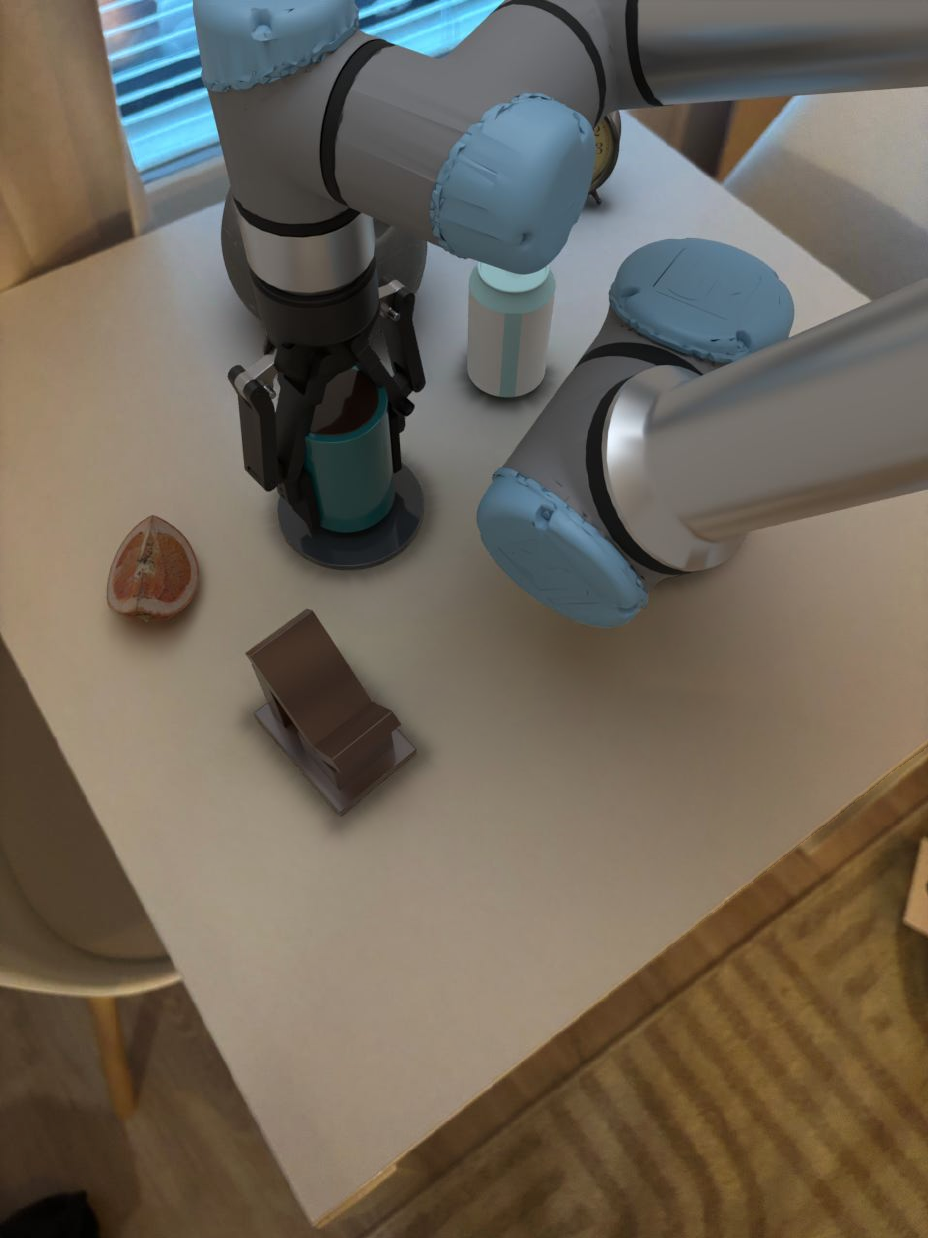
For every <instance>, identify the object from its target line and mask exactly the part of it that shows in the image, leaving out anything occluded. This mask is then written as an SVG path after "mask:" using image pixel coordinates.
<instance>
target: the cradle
mask: <svg viewBox="0 0 928 1238" xmlns="http://www.w3.org/2000/svg"><path fill="white" fill-rule="evenodd" d="M244 655H245V656H246V657H247V659H248V660H249V662H250V663H251V667H252V669H253V671H254V674H255V676H256V678H257V681H258V683H259V686H260V688H261V691H262V693H263V695H264V697H265V700H266V703H265V704H264V705H262V706H261V707H260V708H258V709H257V710H256V711H254V712H253V716H254V718H255V719H256V720H257V721H258V722H259V725H261V726H262V728H264V729H265V731H266V732H267V733H268V734H269V735H270V736H271V738H272V739H273V740H274V741H275V742H276V744H277V745H278V746H279V747H280V748H281V749H282V750H283V751H284V753H285V754H286V755H287V756H288V757H289V759H290V760H291V761H292V762H293V763H294V765H295V766H296V767H297V768H298V769H299V771H301V772H302V773H303V775H304V776H305V777H306V778H307V779H308V780H309V782H310V783H311V784H312V786H313V787H314V788H315V789H316V790H317V792H319V793H320V794H321V796H322V797H323V798H324V799H325V801H327V803H328V804H329V805H330V806H331V808H333V810H334V811H335V812H336V813H337V814H338V815H339V816H340V817H342V816H343V815H344V814H345V813H347V812H348V811H349V810H350V809H351V808H352V807H354V806H355V805H356V804H357V803H358V802H360V801H361V800H363V798H365V797H366V796H367V795H368V794H369V793H371V792H372V791H373V790H374V789H375V788H377V787H378V786H379V785H380V784H381V783H383V782H385V780H386V779H387V778H389V777H390V776H391V775H392V774H393V773H395V772H396V771H397V770H398V769H399V768H401V767H402V766H403V765H404V764H405V763H407V762H408V761H409V760H410V759H411V758H413V757H414V756H415V755H416V754H417V748H416V747H415V746H414V744H412V743H411V742H410V740H408V739H407V737H406V736H405V735H404V734H403V733H402V732H401V731H400V730H399V729H398V728H399V727H400V726H401V725H402V723H401V722H400V721H399V719H398V717H397V715H396V714H395V712H394V711H393V710H392V709H389V708H387V707H385V706H383V705H381V704H379V703H377V702H375V701H373V700H372V699H371V697H370V696H369V694H368V692H367V691H366V689H365V687H363V685H362V683H361V682H360V680H359V678H358V677H357V675H356V674H355V672H354V671H353V669H352V668H351V666H350V665H349V663H348V662H347V660H346V659H345V657H344V655H343V654H342V653H341V651H340V650H339V648H338V646H337V645H336V643H335V642H334V641H333V639H332V637H331V636H330V634H329V632H328V631H327V629H326V628H325V627H324V625H323V623H322V622H321V620H320V619H319V617H318V616H317V614H316V613H315V611H314V610H313V609H310V608H305V609H303V611H301V612H300V613H298V614H297V615H295V616H294V617H293V618H291V619H290V620H288V621H287V622H286V623H284V624H283V625H282V626H280V627H279V628H278V629H276V630H275V631H273V632H271V634H269V635H268V636H266V637H265V638H263V639H262V640H261V641H259V643H256V644H255V645H254V646H253V647H251V648H250V649H249V650H247V651H246V652H245V653H244Z"/></svg>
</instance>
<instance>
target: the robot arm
mask: <svg viewBox="0 0 928 1238" xmlns="http://www.w3.org/2000/svg"><path fill="white" fill-rule="evenodd" d="M192 12H193V19H194V26H195V32H196V39H197V45H198V52H199V59H200V64H201V74H200V77H201V81H202V84H203V86H204V88H206V92H207V96H208V99H209V102H210V106H211V110H212V114H213V118H214V119H213V120H214V122H215V127H216V131H217V135H218V139H219V144H220V147H221V151H222V156H223V160H224V164H225V168H226V172H227V176H228V181H229V185H230V186H231V190H232V195H233V199H234V203H235V209H236V213H237V217H238V222H239V226H240V230H241V235H242V239H243V243H244V248H245V252H246V257H247V260H248V262H249V265H250V268H249V269H250V276H251V280H252V284H253V289H254V293H255V297H256V302H257V306H258V310H259V314H260V317H261V320H262V322H261V323H262V326H263V327H264V330H265V340H264V343H263V348H262V354H263V356H262V357H260V359H258V360H257V361H255V363H253V364H252V365H251V366H250V367H248V368H247V369H245V368H244V367H243V366H242V365H241V364H236V365H233V366H232V367H231V368H230V369H229V371H228V372H227V377H226V378H227V380H228V381H229V383H230V386H232V388H233V389H234V391H235V394H237V403H238V415H239V425H240V436H241V437H240V438H241V447H242V448H241V449H242V458H243V459H242V460H243V468H244V471H245V472H246V473H247V474H248V475H249V476H250V477H251V478H252V479H253V480H254V481H255V482H256V483H257V484H258V485H259V486H260V487H261V488H262V489H263V490H264V491H265V492H267V493H271V492H272V491H274V490H275V489H276V492H277V494H278V495H279V497H280V496H281V497H282V498H283V499H284V500H285V501H286V502H287V503H288V504H289V505H291V506H292V509H293V510H294V511H295V512H296V513H297V514H298V515H299V516H300V517H301V518H302V520H303V521H304V522H305V523H306V524H307V525H308V526H309V527H310V528H311V529H312V530H313V531H314V530H315V529H316V528H318V527H319V526H321V523H320V518H319V513H318V508H317V503H316V499H315V494H314V489H313V484H312V479H311V474H310V473H309V472H308V471H307V470H306V469H305V468H304V467H303V466H302V464H303V460H304V455H305V451H306V442H305V437H306V436H308V435H309V434H310V429H311V425H312V421H313V416H314V412H315V407H316V405H319V404H321V403H322V401H323V397H324V393H325V389H326V384H327V383H329V382H330V381H331V380H332V379H333V378H334V377H335V376H337V375H338V374H340V373H342V372H345V371H348V370H349V369H351V368H352V367H354V366H356V367H357V368H358V370H359V371H361V372H362V373H363V374H364V375H365V376H366V377H368V378H369V379H370V380H371V381H372V382H373V383H374V384H375V385H376V386H378V387H379V388H381V387H383V386H384V387H385V389H386V392H387V398H388V410H389V422H390V434H391V446H392V458H393V470H394V473H397V472H398V471H400V470H401V469H402V463H403V462H402V452H401V451H402V449H401V447H402V446H401V435H400V434H402V433H404V431H405V428H406V417H409V416H410V415H411V414H412V413H413V412H414V410H415V407H416V404H415V403H414V402H413V401H412V400H411V399H409V398H408V397H409V396H410V395H411V394H412V393H415V394H417V393H420V392H421V391H423V390H424V388H425V387H426V385H427V380H426V376H425V371H424V366H423V363H422V357H421V353H420V349H419V343H418V339H417V335H416V330H415V325H414V321H413V317H414V309H415V302H416V294H415V295H414V293H413V292H411V291H410V290H409V289H408V288H406V287H405V286H404V285H403V284H401V283H400V282H399V281H398V280H397V279H395V278H394V277H393V276H392V275H390V274H386V275H384V276H383V277H382V278H381V279H380V281H379V285H378V278H377V266H376V257H375V253H374V250H375V234H374V224H373V218H375V219H377V220H380V221H382V222H384V223H386V224H389V225H391V226H393V227H395V228H398V229H400V230H402V231H405V232H407V233H409V234H411V235H414V236H416V237H418V238H420V239H423V240H425V241H427V243H429V244H432V245H434V246H437V247H439V248H441V249H443V251H445V252H447V253H449V254H450V255H453V256H454V257H457V258H458V259H462V260H467V259H471V260H474V261H476V262H478V261H479V262H482V263H485V264H488V265H491V266H494V267H497V268H500V269H503V270H506V271H509V272H512V273H515V274H521V275H526V274H532V273H535V272H538V271H540V270H541V269H543V268H544V267H546V266H547V265H548V264H549V265H550V264H551V263H552V262H553V261H554V260H555V259H556V258H557V257H558V256H559V254H560V253H561V252H562V250H563V249H564V247H565V246H566V244H567V242H568V240H569V236H570V234H571V231H572V229H573V228H574V225H576V224H577V223H578V221H579V219H580V217H581V214H582V212H583V209H584V207H585V204H586V202H587V198H588V195H589V194H588V192H589V189H590V185H591V181H592V176H593V170H594V165H595V156H596V144H595V136H594V132H593V130H594V128H595V127H596V126H597V125H598V124H599V123H600V122H601V121H602V119H603V118H604V117H605V116H606V115H607V114H609V113H611V112H614V111H618V110H619V111H628V110H640V109H651V108H660V107H670V106H675V105H685V104H700V103H702V104H703V103H715V102H729V101H739V100H740V101H743V100H757V99H758V100H759V99H772V98H784V97H798V96H799V97H801V96H812V95H813V96H814V95H828V94H840V93H855V92H869V91H883V90H884V91H885V90H898V89H910V88H911V89H912V88H926V87H927V88H928V0H503V1H502V2H501V3H500V4H499V5H498V6H497V7H496V8H495V9H494V10H493V11H491V12H490V14H488V16H486V17H485V19H483V20H482V22H481V23H479V24H478V25H477V26H476V27H475V28H474V29H473V30H472V31H471V32H470V33H469V34H468V35H467V36H466V37H465V38H464V39H463V40H461V42H459V43H458V44H457V45H456V46H455V47H454V48H453V49H452V50H451V51H450V52H449V53H448V54H447V55H446V56H445V57H443V58H435V57H433V56H430V55H428V54H425V53H421V52H419V51H415V50H413V49H410V48H407V47H405V46H402V45H400V44H396V43H392V42H390V41H387V40H386V39H384V38H381V37H378V36H376V35H372V34H369V33H367V32H365V31H363V30H361V29H360V28H359V26H360V15H359V14H360V9H359V7H358V6H357V4H356V1H355V0H192ZM608 302H609V306H608V310H607V313H606V317H605V319H604V321H603V324H602V326H601V328H600V330H599V332H598V333H597V335H596V337H595V338H594V339H593V340H592V342H591V344H590V345H589V346H588V348H587V349H586V350H585V352H584V353H583V355H582V356H581V358H580V359H579V360H578V362H577V363H576V364H575V366H574V368H573V369H572V370H571V371H570V372H569V373H568V375H567V376H566V377H565V379H564V380H563V382H562V383H561V384H560V386H559V387H558V388H557V390H556V391H555V393H554V394H553V395H552V397H551V398H550V399H549V401H548V402H547V404H546V405H545V407H544V408H543V410H542V411H541V412H540V414H539V415H538V416H537V417H536V419H535V421H534V422H533V423H532V425H531V426H530V428H529V429H528V430H527V432H526V433H525V434H524V436H523V437H522V438H521V440H520V442H519V443H518V444H517V445H516V447H515V448H514V450H513V451H512V453H510V455H509V457H508V458H507V459H506V461H505V462H504V464H502V466H501V467H498V468H497V469H496V470H495V471H494V473H492V477H491V478H492V479H491V483H490V485H489V486H488V488H487V489H486V490H485V492H484V494H483V496H482V497H481V498H480V500H479V503H478V505H477V509H476V517H475V518H476V520H475V521H476V527H477V530H478V531H479V534H480V540H481V542H482V544H483V547H484V548H485V549H486V551H487V553H488V555H489V556H490V557H491V560H493V561H494V563H495V564H496V565H497V566H498V568H499V569H500V570H501V571H502V572H503V573H504V574H505V575H506V576H507V577H508V578H509V579H510V580H511V581H512V582H513V584H515V585H516V586H517V587H519V588H520V590H522V591H523V592H525V593H526V594H527V595H528V596H530V597H531V598H533V599H534V600H536V601H537V602H539V603H540V604H542V605H543V606H545V607H546V608H548V609H550V610H553V611H554V612H555V613H557V614H559V615H561V616H562V617H565V618H567V619H570V620H572V621H574V622H577V623H580V624H583V625H585V626H586V625H587V626H591V627H595V628H602V629H603V628H604V629H611V628H620V627H622V626H624V625H626V624H629V623H630V622H631V621H633V620H634V619H635V617H636V616H637V614H638V613H639V612H640V611H641V610H644V609H646V607H647V605H648V603H649V595H650V593H651V591H652V589H653V588H654V587H655V586H656V585H657V584H658V583H660V582H661V581H663V580H664V579H669V578H672V577H678V576H683V575H687V574H691V573H692V574H693V573H697V572H702V571H706V570H709V569H712V568H715V567H717V566H719V565H721V564H723V563H724V562H726V561H727V560H729V559H730V558H731V557H733V556H734V555H735V553H737V551H738V550H739V549H740V548H741V546H742V544H743V543H744V541H745V539H746V538H747V535H748V533H750V532H755V531H758V530H763V529H767V528H771V527H774V526H779V525H783V524H787V523H788V524H789V523H792V522H796V521H800V520H804V519H809V518H813V517H817V516H821V515H825V514H831V513H834V512H839V511H842V510H847V509H851V508H855V507H859V506H864V505H868V504H872V503H876V502H880V501H885V500H889V499H894V498H898V497H901V496H906V495H910V494H915V493H918V492H922V491H927V490H928V276H927V277H924V278H922V279H920V280H917V281H915V282H913V283H911V284H908V285H906V286H903V287H902V288H899V289H897V290H894V291H892V292H890V293H887V294H886V295H883V296H881V297H878V298H876V299H874V300H872V301H870V302H867V303H864V304H862V305H860V306H858V307H856V308H853V309H851V310H849V311H846V312H845V313H842V314H840V315H837V316H835V317H833V318H830V319H828V320H826V321H824V322H821V323H819V324H817V325H815V326H812V327H810V328H808V329H805V330H803V331H801V332H799V333H796V334H794V335H791V336H790V334H791V330H792V328H793V325H794V320H795V303H794V300H793V296H792V294H791V291H790V289H789V288H788V286H787V285H786V284H785V283H784V281H782V280H781V279H780V277H779V275H778V273H777V272H776V271H775V270H774V269H773V268H772V267H771V266H770V265H768V264H767V263H765V262H764V261H763V260H761V259H760V258H758V257H757V256H755V255H754V254H752V253H750V252H747V251H745V250H744V249H741V248H738V247H736V246H733V245H731V244H727V243H724V242H722V241H721V242H720V241H716V240H711V239H706V238H699V237H685V238H665V239H661V240H657V241H653V242H650V243H647V244H645V245H643V246H641V247H639V248H637V249H636V250H634V251H633V252H631V253H630V254H629V255H628V256H627V257H626V258H625V259H624V260H623V261H622V262H621V264H620V266H619V267H618V270H617V272H616V275H615V278H614V281H613V282H611V284H610V289H609V290H608ZM378 318H379V321H380V325H381V329H382V330H381V332H382V336H383V340H384V344H385V347H386V352H387V355H388V359H389V362H390V366H391V371H392V374H393V375H391V374H390V372H389V371H388V370H387V368H386V367H385V366H384V364H383V363H382V359H381V358H380V356H379V355H378V354H377V353H376V351H375V349H374V348H373V347H372V346H371V343H370V341H369V340H370V338H371V337H370V335H371V333H372V330H373V328H374V326H375V324H376V321H377V319H378ZM275 377H276V380H277V383H278V385H279V393H278V396H277V392H276V391H275V390H274V379H275ZM276 397H278V398H277V403H276V408H275V403H274V402H273V400H274V399H275V398H276Z"/></svg>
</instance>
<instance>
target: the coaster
mask: <svg viewBox="0 0 928 1238" xmlns="http://www.w3.org/2000/svg"><path fill="white" fill-rule="evenodd" d="M394 483H395V498H394V502H393V505H392V507H391V509H390V511H389V512H388V513H387V515H386V516H385V517H384V518H383V519H382V520H381V521H379V522H378V523H377V524H375V525H373V526H371V527H369V528H367V529H364V530H361V531H356V532H336V531H331V530H328V529H325V528H323V527H321V526H319V527H318V528H316V529H315V530H314V531H313V530H312V529H311V528H310V527H309V526H308V525H307V524H306V523H305V522H304V521H303V520H302V518H301V517H300V516H299V515H298V514H297V513H296V512H295V511H294V510H293V509H292V506H291V505H289V504H288V503H287V502H286V501H285V500H284V499H283V498H282V497H281V496H280V495H279V497H278V501H277V509H276V510H277V520H278V523H279V528H280V530H281V533H282V535H283V536H284V538H285V541H286V542H287V543H288V545H290V547H291V548H292V549H293V550H294V551H295V552H296V553H297V554H298V555H300V556H301V557H302V558H304V559H306V560H307V561H309V562H310V563H313V564H315V565H318V566H321V567H324V568H328V569H333V570H341V571H356V570H363V569H367V568H372V567H375V566H378V565H381V564H384V563H385V562H387V561H389V560H391V559H393V558H395V557H397V555H399V554H400V553H401V552H403V551H404V550H405V549H406V548H408V546H409V545H410V544H411V543H412V541H413V540H414V539H415V537H416V536H417V534H418V532H419V531H420V528H421V525H422V523H423V520H424V513H425V500H424V493H423V490H422V487H421V485H420V482H419V480H418V479H417V477H416V476H415V474H414V472H413V471H412V470H411V469H410V468H409V467H408V466H407V465H406V464H404V463H403V462H402V469H401V470H400V471H398V472H397V473H394Z"/></svg>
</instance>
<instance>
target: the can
mask: <svg viewBox="0 0 928 1238" xmlns="http://www.w3.org/2000/svg"><path fill="white" fill-rule="evenodd" d="M556 287H557V283H556V277H555V275H554V273H553V271H552V269H551V267H550V263H549V264H548V265H547V266H546V267H544V268H543V269H541V270H540V271H538V272H535V273H532V274H526V275H521V274H515V273H512V272H509V271H506V270H503V269H500V268H497V267H494V266H491V265H488V264H485V263H482V262H479V261H477V263H476V265H475V266H474V267H473V269H472V270H471V272H470V274H469V278H468V304H467V305H468V307H467V308H468V309H467V310H468V311H467V352H466V355H467V356H466V357H467V358H466V369H467V370H466V371H467V374H468V377H469V379H470V381H471V382H472V383H473V385H475V386H476V387H477V388H478V389H479V390H481V391H482V392H484V393H486V394H489V395H491V396H495V397H500V398H515V397H521V396H524V395H527V394H529V393H530V392H533V391H534V390H535V389H536V388H538V387H539V386H540V385H541V383H542V382H543V380H544V378H545V374H546V370H547V369H546V368H547V362H548V361H547V360H548V353H549V346H550V345H549V343H550V336H551V329H552V322H553V321H552V320H553V312H554V305H555V304H554V303H555V295H556Z"/></svg>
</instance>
